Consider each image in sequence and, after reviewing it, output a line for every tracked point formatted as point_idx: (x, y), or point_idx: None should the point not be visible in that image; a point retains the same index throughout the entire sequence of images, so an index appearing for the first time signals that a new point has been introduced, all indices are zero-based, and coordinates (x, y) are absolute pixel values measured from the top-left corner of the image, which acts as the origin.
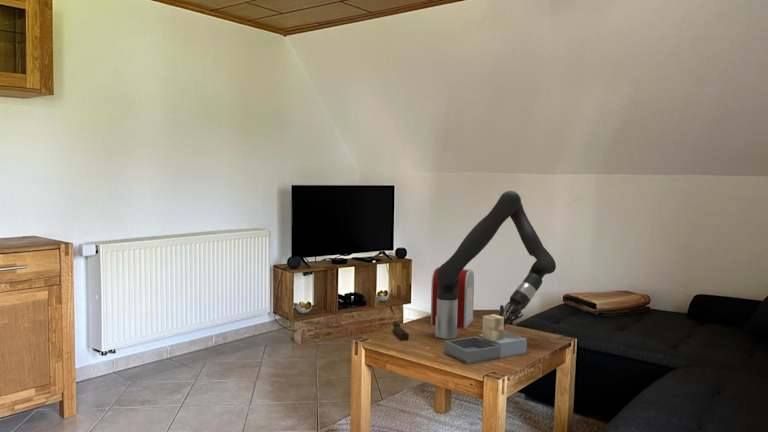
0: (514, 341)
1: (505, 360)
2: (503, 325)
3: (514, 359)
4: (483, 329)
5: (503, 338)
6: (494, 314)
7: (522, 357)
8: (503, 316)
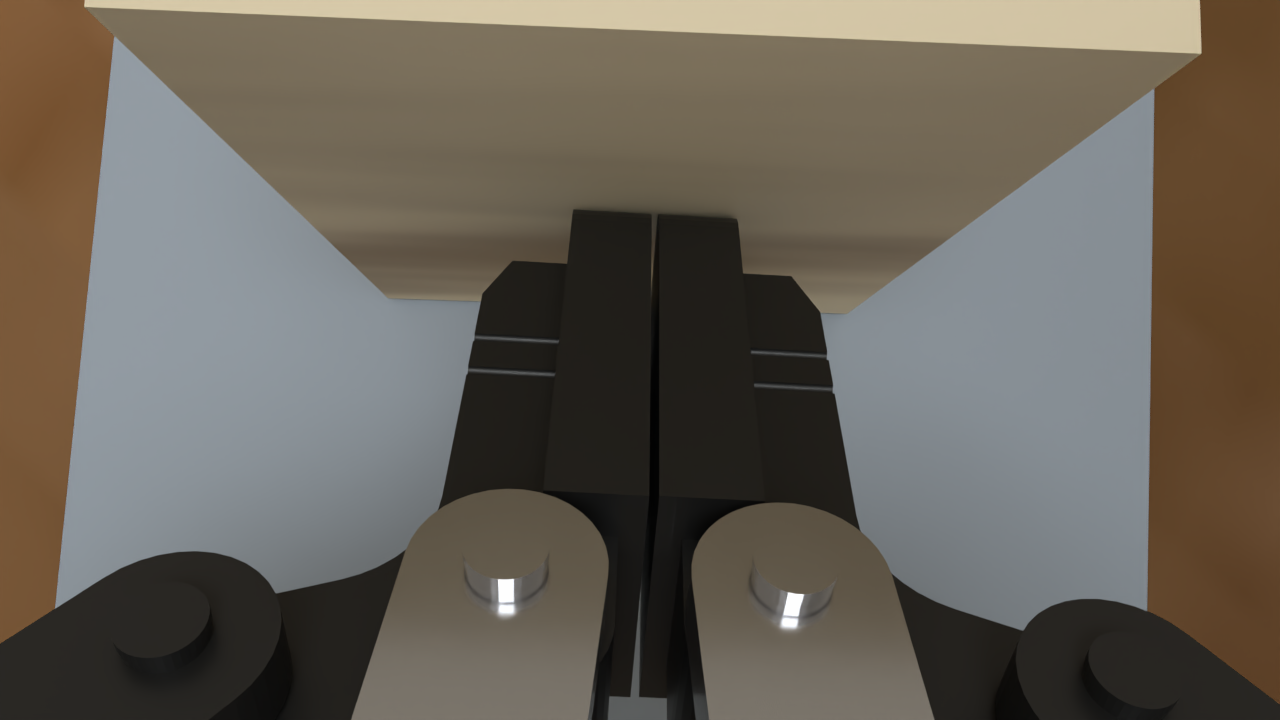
0: (76, 470)
1: (63, 55)
2: (267, 170)
3: (6, 272)
4: None
5: (385, 295)
6: (1112, 17)
7: (11, 533)
8: (729, 591)
